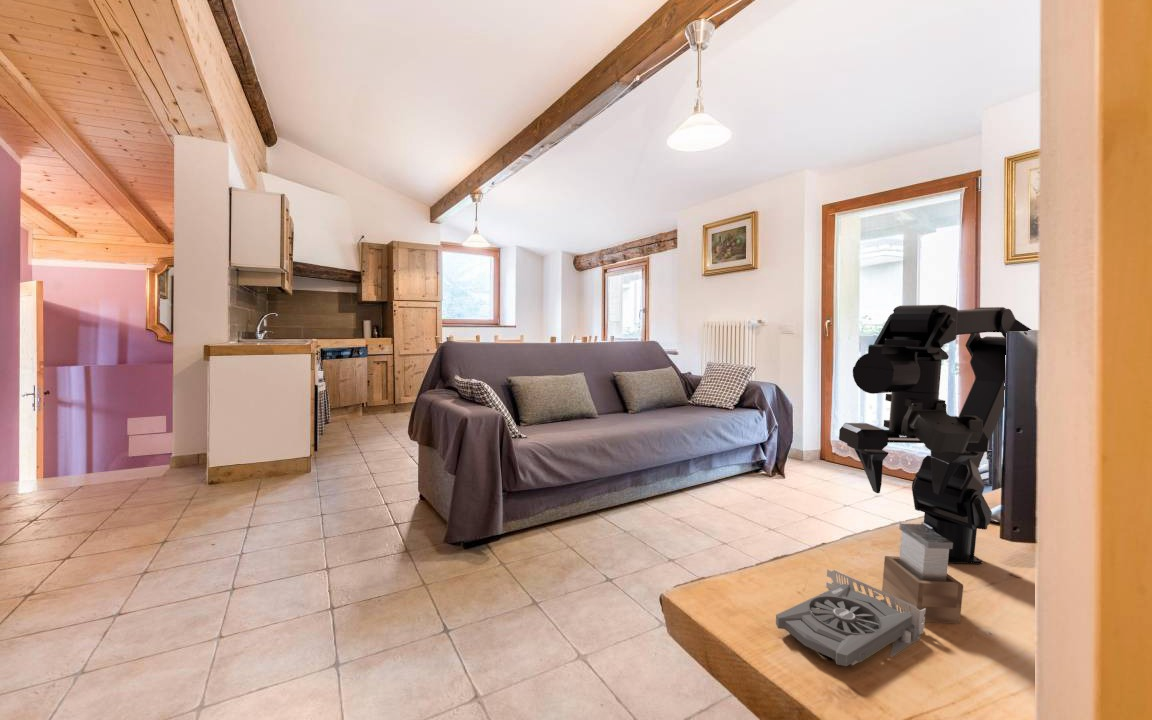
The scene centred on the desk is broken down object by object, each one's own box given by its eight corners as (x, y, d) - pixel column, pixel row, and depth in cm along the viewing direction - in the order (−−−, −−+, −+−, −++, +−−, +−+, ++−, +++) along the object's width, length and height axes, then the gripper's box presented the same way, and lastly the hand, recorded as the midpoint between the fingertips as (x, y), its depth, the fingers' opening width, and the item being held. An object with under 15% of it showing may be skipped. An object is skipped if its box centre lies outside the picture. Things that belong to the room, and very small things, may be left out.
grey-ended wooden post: (894, 579, 66) (899, 523, 65) (917, 580, 66) (922, 524, 65) (923, 603, 60) (928, 541, 60) (947, 604, 60) (952, 542, 60)
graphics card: (831, 564, 68) (929, 607, 57) (830, 590, 68) (927, 637, 58) (752, 598, 59) (850, 655, 49) (751, 627, 59) (848, 690, 49)
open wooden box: (921, 592, 67) (924, 557, 66) (959, 623, 60) (963, 585, 59) (882, 590, 67) (884, 556, 66) (915, 621, 60) (919, 583, 60)
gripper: (886, 398, 63) (878, 513, 64) (1029, 400, 63) (1018, 516, 64) (840, 386, 74) (833, 484, 75) (961, 388, 74) (953, 487, 75)
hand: (906, 493), depth 72 cm, fingers open, 9 cm apart
